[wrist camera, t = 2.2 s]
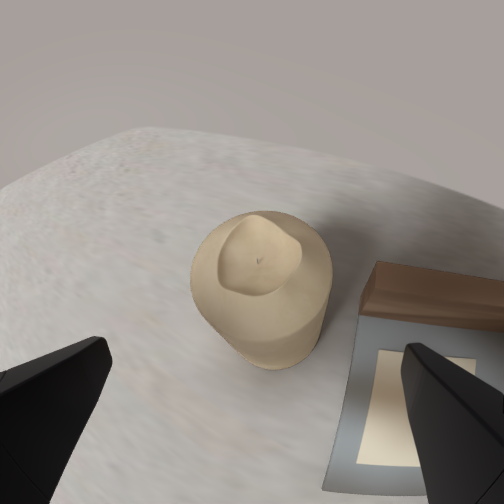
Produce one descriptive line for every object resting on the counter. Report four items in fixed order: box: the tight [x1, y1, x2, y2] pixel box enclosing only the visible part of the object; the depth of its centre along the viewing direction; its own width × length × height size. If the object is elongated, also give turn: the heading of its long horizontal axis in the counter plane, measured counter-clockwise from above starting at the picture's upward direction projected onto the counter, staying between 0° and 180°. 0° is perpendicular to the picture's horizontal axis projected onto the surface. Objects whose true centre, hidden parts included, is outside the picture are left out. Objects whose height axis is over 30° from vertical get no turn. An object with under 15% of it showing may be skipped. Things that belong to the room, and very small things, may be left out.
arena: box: [322, 261, 504, 496], centre depth 13 cm, size 12×14×5 cm
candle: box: [190, 211, 333, 370], centre depth 15 cm, size 6×6×10 cm
